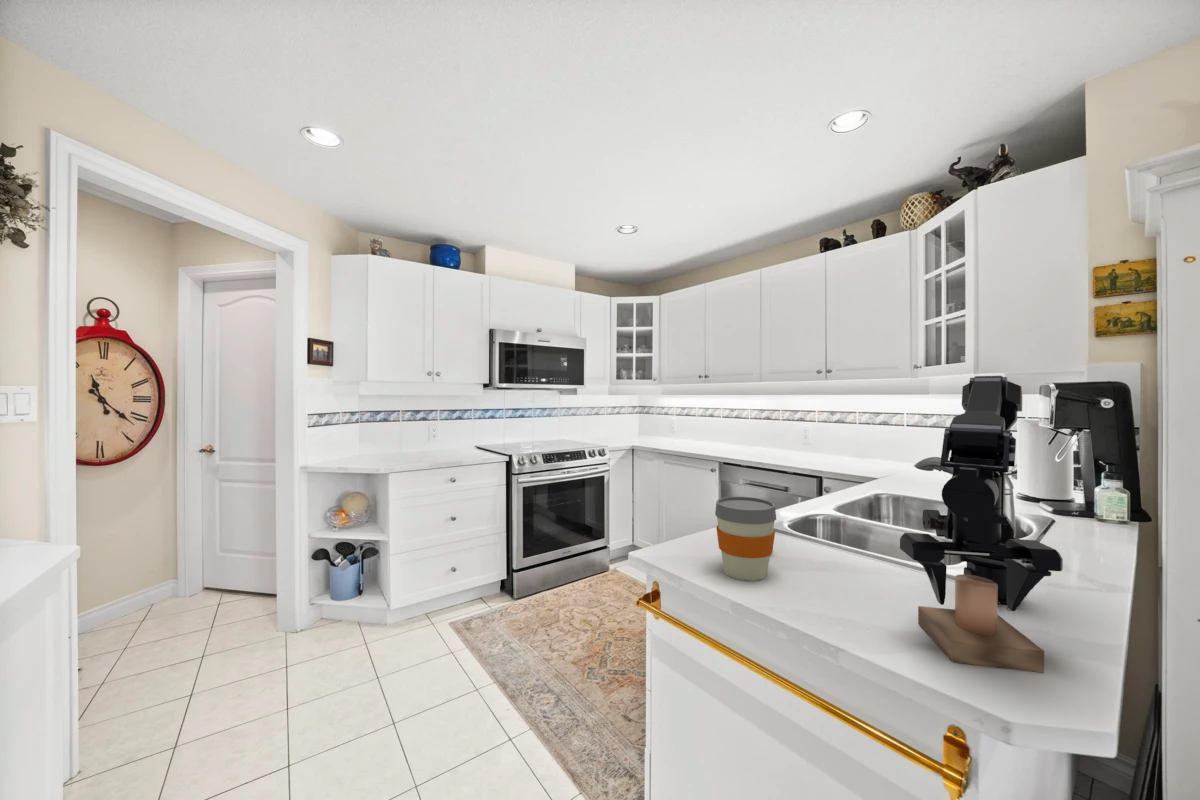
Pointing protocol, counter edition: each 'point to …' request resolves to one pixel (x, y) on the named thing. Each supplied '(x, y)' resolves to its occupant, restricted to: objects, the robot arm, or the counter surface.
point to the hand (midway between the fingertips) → (975, 606)
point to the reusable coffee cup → (745, 536)
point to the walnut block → (980, 642)
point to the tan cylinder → (976, 604)
